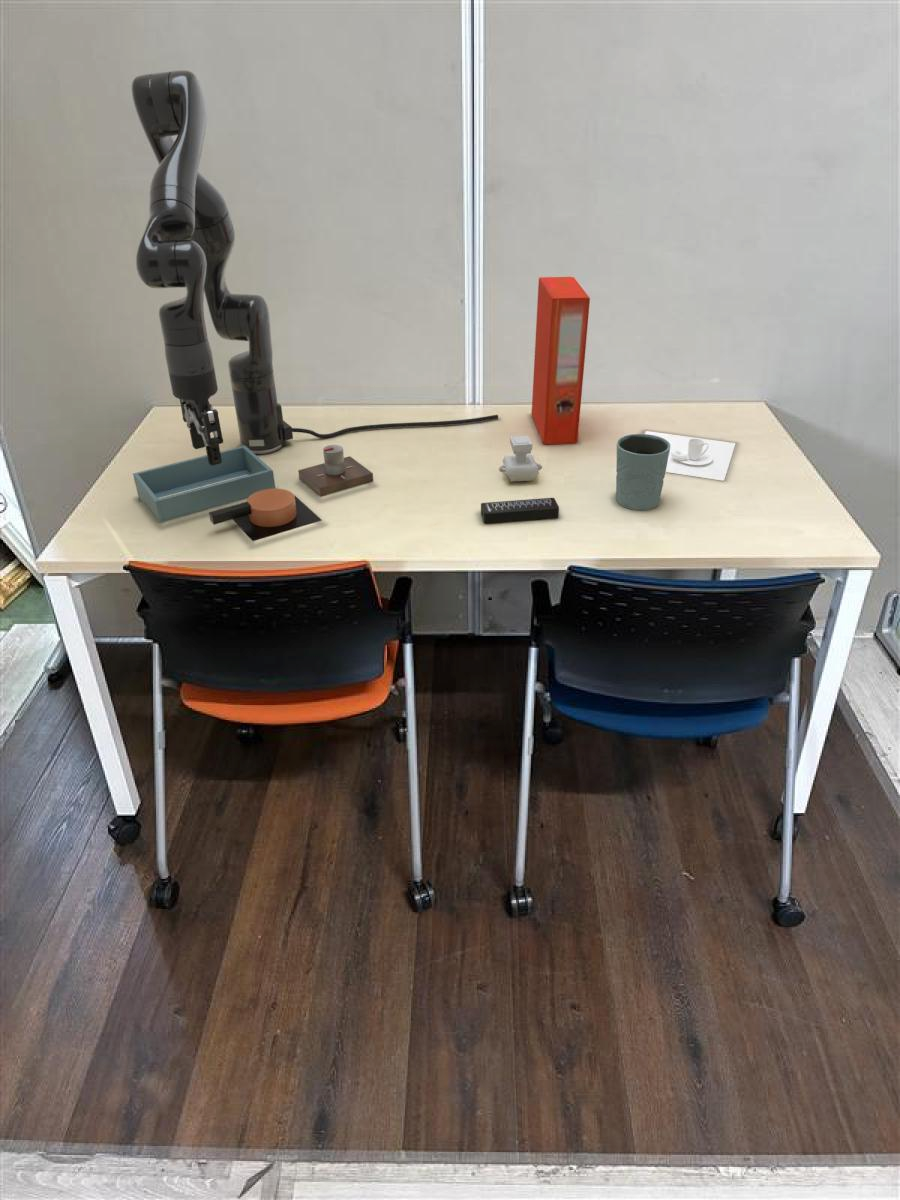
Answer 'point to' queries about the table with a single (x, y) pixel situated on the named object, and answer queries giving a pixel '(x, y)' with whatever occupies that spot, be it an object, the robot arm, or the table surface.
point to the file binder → (559, 358)
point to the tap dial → (334, 460)
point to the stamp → (520, 461)
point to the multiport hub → (519, 510)
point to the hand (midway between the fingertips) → (207, 455)
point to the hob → (259, 532)
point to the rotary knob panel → (335, 477)
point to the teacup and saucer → (697, 456)
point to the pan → (261, 509)
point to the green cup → (640, 470)
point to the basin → (202, 483)
